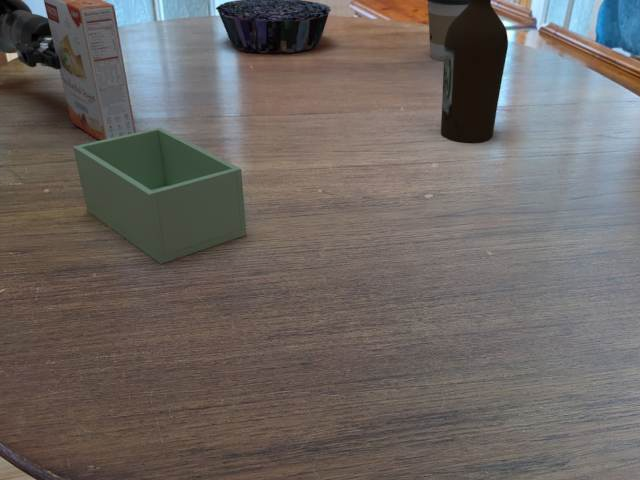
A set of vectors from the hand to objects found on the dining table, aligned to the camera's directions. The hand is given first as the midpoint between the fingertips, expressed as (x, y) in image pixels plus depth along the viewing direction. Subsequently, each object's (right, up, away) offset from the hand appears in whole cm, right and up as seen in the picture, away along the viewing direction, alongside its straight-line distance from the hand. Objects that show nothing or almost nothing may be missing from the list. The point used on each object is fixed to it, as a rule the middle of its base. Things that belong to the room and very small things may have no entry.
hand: (83, 58), depth 118 cm
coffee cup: (+64, +25, +56) cm, 89 cm away
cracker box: (+1, -10, +6) cm, 12 cm away
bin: (+20, -31, -21) cm, 43 cm away
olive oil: (+64, -8, +12) cm, 66 cm away
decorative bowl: (+23, +30, +60) cm, 71 cm away
